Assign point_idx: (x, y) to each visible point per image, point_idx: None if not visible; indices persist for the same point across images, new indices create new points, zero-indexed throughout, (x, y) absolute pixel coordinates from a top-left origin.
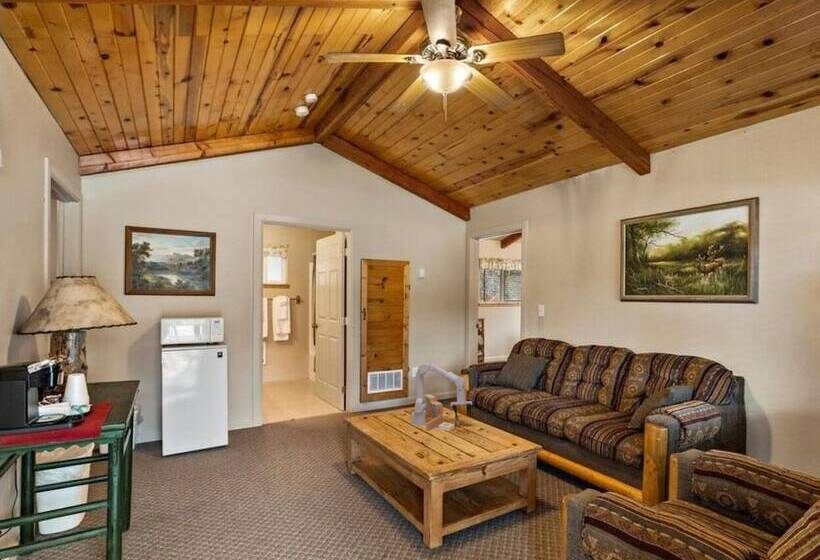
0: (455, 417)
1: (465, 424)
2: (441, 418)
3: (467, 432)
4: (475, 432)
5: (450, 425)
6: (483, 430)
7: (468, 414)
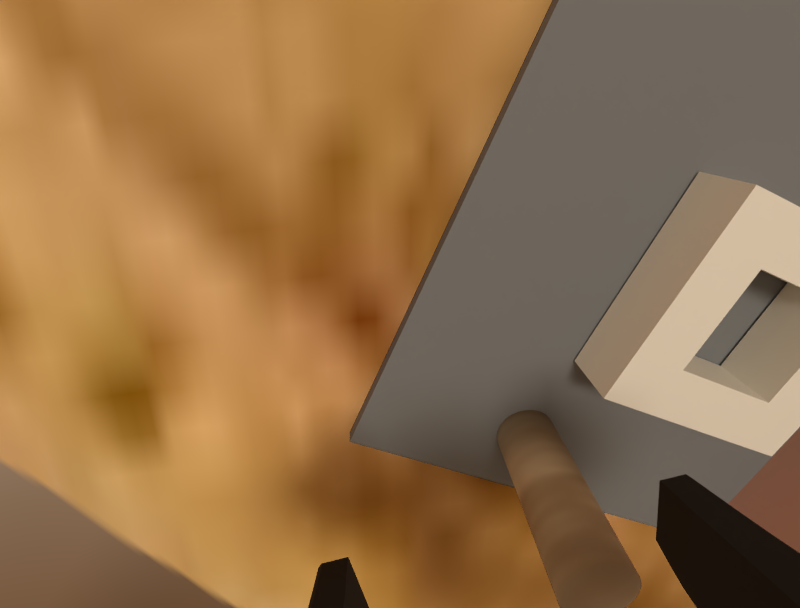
0: (622, 547)
1: (391, 535)
2: None
3: (353, 202)
4: (202, 219)
5: (700, 313)
6: (78, 341)
7: (309, 605)
